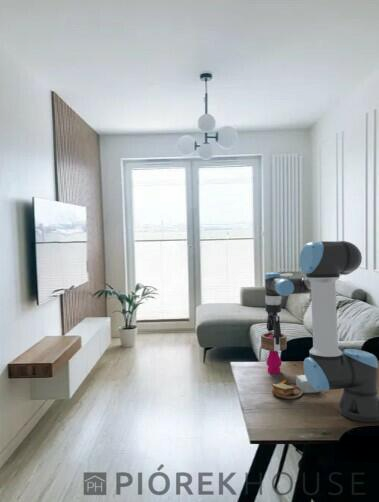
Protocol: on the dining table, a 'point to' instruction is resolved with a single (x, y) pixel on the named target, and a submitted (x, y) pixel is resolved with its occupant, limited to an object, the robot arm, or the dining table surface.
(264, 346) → the wicker basket
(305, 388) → the small box
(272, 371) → the pepper mill
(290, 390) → the toy sandwich meal
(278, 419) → the dining table surface
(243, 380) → the dining table surface
